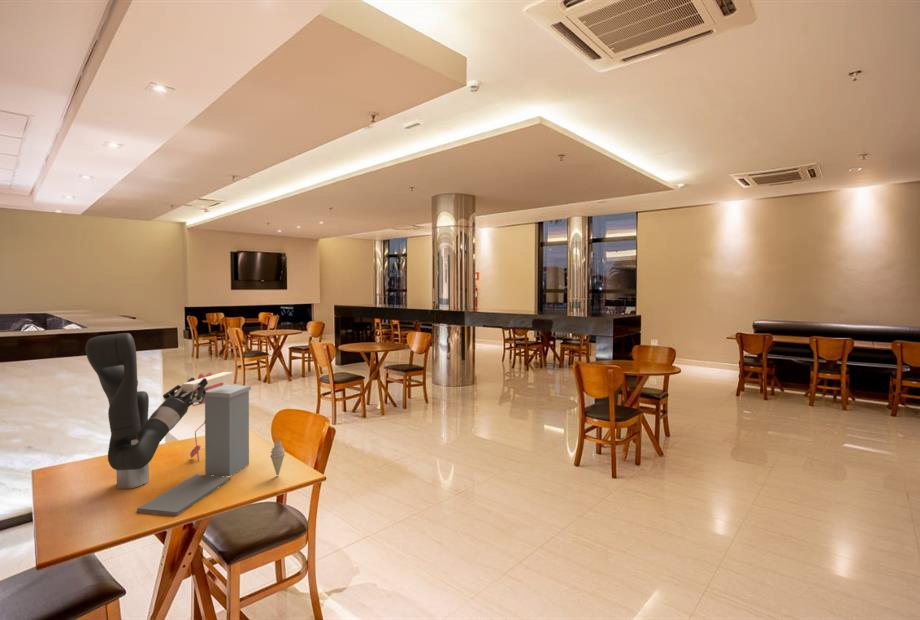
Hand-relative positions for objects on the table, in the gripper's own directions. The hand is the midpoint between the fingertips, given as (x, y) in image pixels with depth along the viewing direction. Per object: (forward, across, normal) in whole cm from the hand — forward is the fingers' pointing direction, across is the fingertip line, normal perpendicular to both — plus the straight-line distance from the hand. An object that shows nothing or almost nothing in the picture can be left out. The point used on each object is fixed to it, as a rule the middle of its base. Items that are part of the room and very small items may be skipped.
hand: (199, 380), depth 158 cm
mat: (-25, 0, +30) cm, 39 cm away
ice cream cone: (-8, -22, +40) cm, 46 cm away
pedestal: (-6, 0, +41) cm, 41 cm away
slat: (+3, 0, +5) cm, 6 cm away
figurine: (+5, +18, +48) cm, 51 cm away
